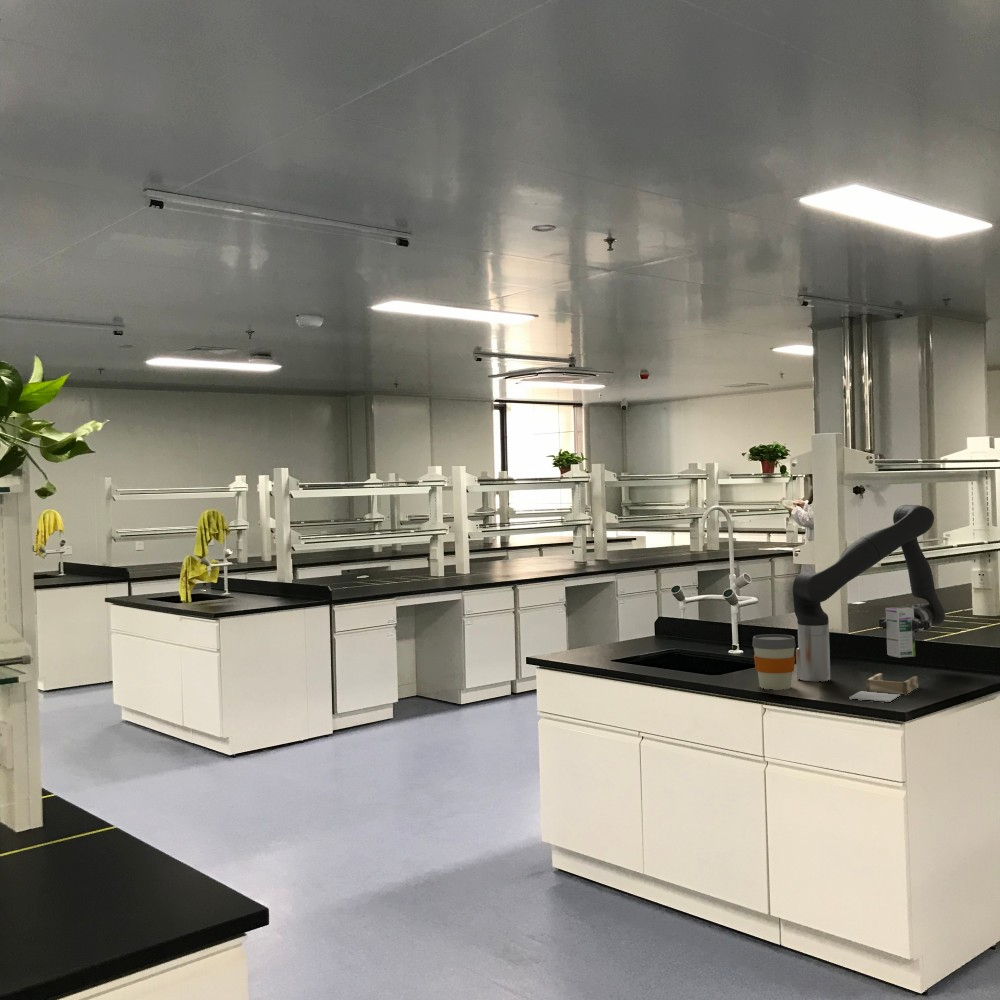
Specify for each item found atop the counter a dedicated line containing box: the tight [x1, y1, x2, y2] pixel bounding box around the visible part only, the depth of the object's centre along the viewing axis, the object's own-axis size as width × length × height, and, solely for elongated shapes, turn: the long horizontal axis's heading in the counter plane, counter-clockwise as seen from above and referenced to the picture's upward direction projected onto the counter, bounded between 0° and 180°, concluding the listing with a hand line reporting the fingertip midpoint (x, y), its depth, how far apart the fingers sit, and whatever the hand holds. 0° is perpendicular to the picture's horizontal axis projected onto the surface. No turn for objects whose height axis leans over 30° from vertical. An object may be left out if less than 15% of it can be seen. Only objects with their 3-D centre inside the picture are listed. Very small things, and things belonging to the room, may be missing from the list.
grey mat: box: [848, 690, 901, 703], centre depth 278 cm, size 11×10×1 cm
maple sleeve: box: [865, 672, 919, 695], centre depth 288 cm, size 12×11×4 cm
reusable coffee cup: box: [752, 633, 797, 691], centre depth 298 cm, size 13×12×15 cm
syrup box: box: [885, 606, 916, 659], centre depth 296 cm, size 6×6×14 cm
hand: (898, 626), depth 295 cm, fingers closed on syrup box, 8 cm apart
